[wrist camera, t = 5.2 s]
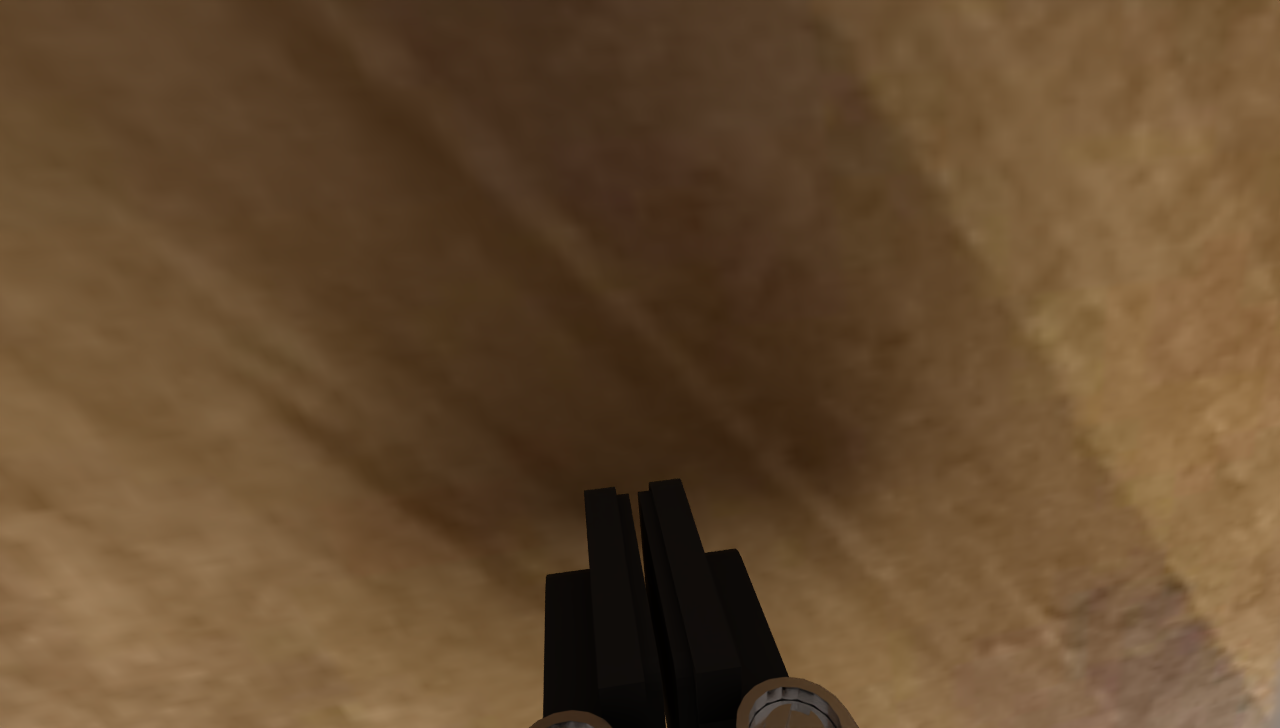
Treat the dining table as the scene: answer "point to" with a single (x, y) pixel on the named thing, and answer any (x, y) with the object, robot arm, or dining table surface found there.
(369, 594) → the dining table surface
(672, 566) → the robot arm
